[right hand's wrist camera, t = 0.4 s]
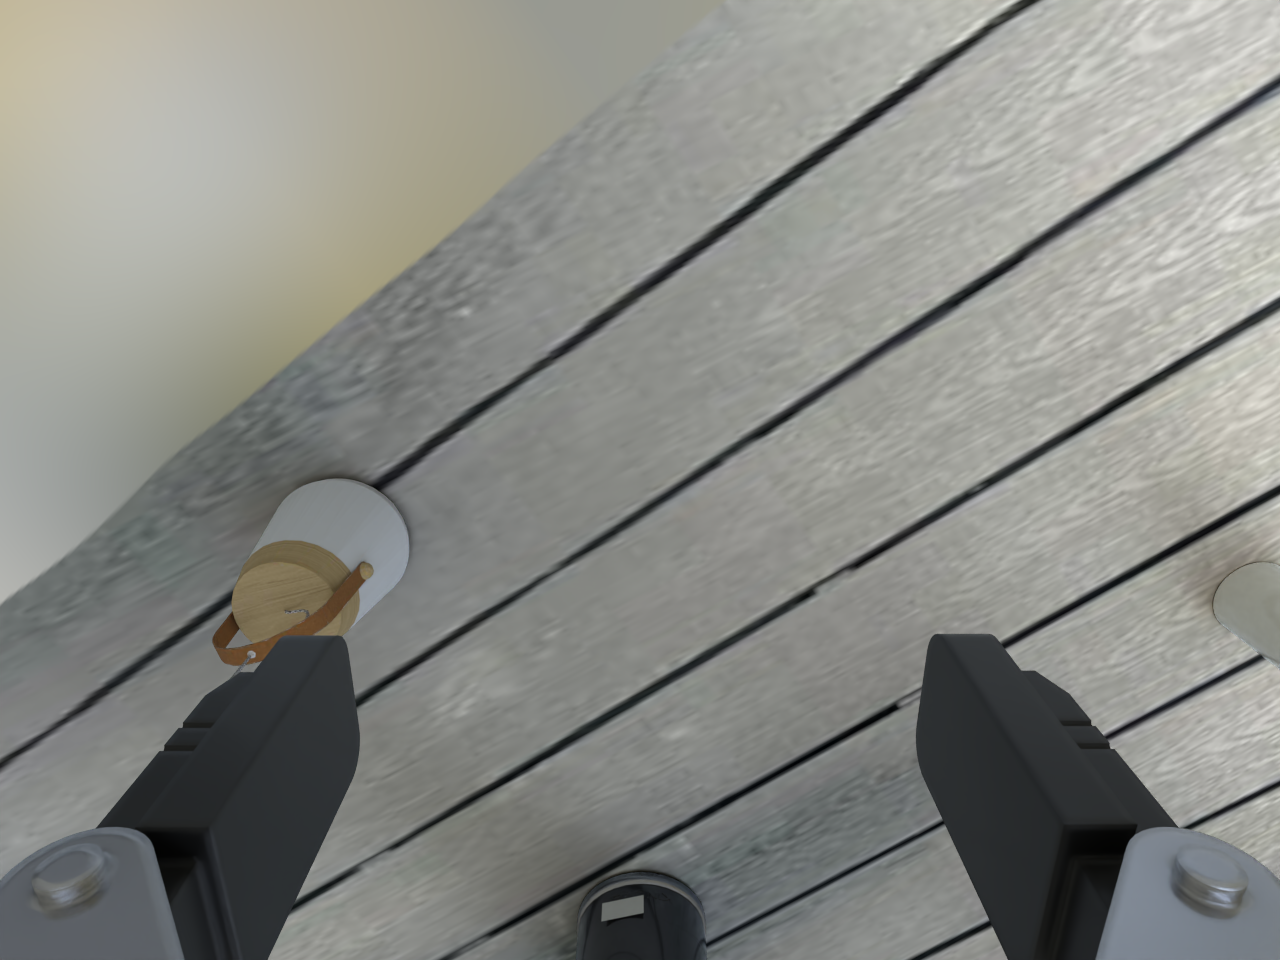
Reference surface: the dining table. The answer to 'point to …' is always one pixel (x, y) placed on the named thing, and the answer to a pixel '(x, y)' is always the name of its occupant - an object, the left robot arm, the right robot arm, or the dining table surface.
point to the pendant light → (315, 567)
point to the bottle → (1252, 607)
